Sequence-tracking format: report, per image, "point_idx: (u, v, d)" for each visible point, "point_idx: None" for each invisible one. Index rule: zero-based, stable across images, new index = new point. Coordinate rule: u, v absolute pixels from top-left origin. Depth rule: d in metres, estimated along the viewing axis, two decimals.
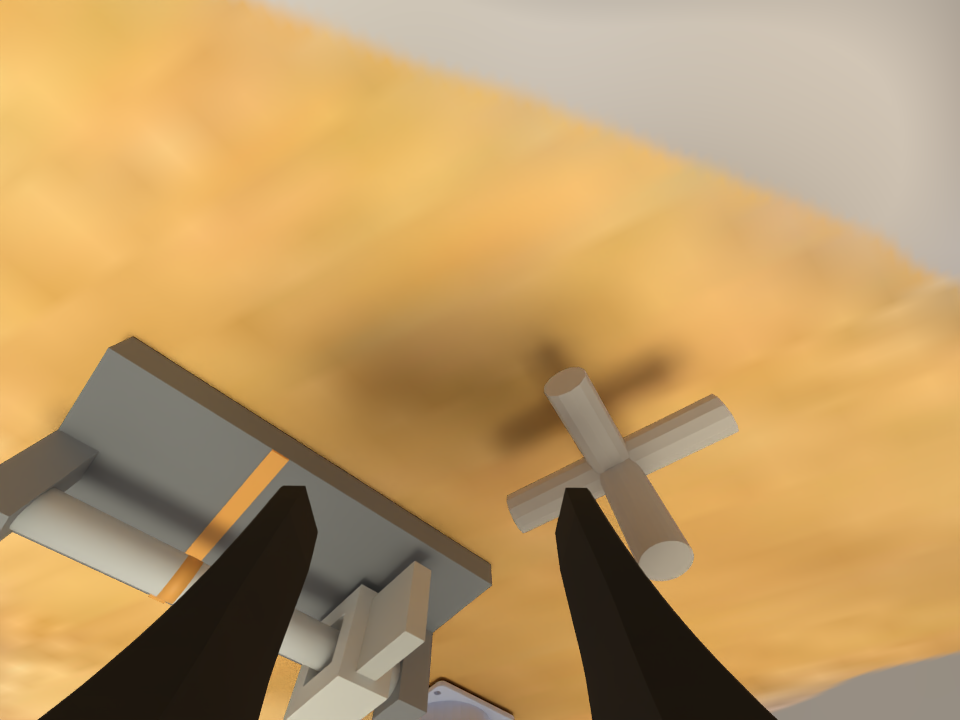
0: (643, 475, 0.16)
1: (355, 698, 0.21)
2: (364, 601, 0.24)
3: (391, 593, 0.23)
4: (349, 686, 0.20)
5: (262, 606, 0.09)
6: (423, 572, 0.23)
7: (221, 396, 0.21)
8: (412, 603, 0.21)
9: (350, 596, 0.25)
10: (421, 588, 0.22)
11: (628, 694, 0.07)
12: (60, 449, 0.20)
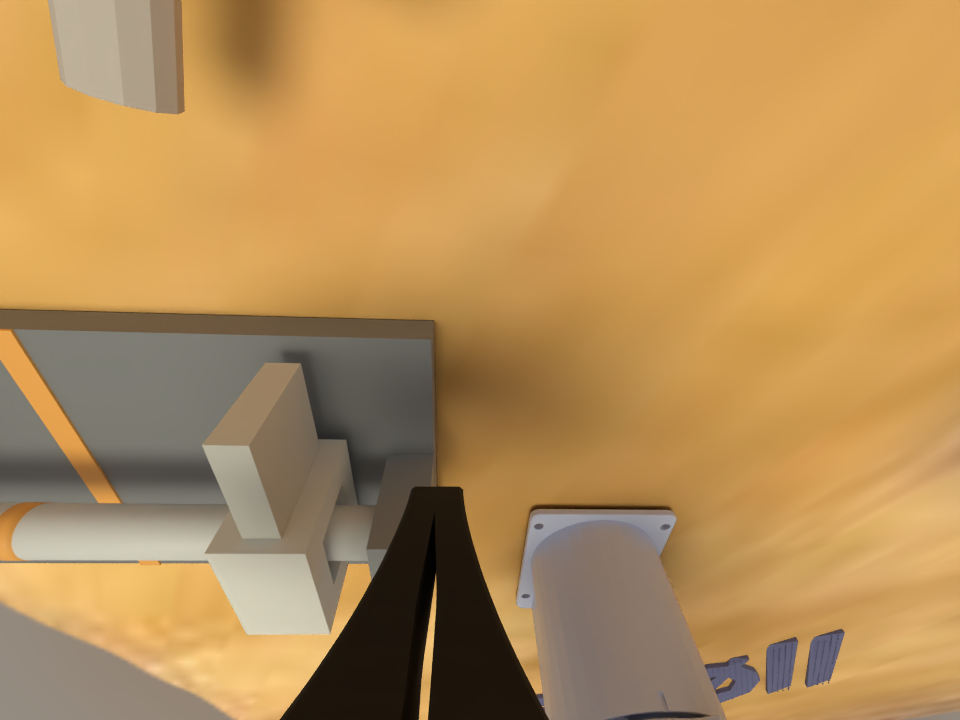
0: None
1: (269, 572, 0.13)
2: None
3: None
4: (238, 560, 0.13)
5: (423, 605, 0.09)
6: (281, 369, 0.14)
7: None
8: (237, 408, 0.12)
9: None
10: (269, 386, 0.13)
11: None
12: None
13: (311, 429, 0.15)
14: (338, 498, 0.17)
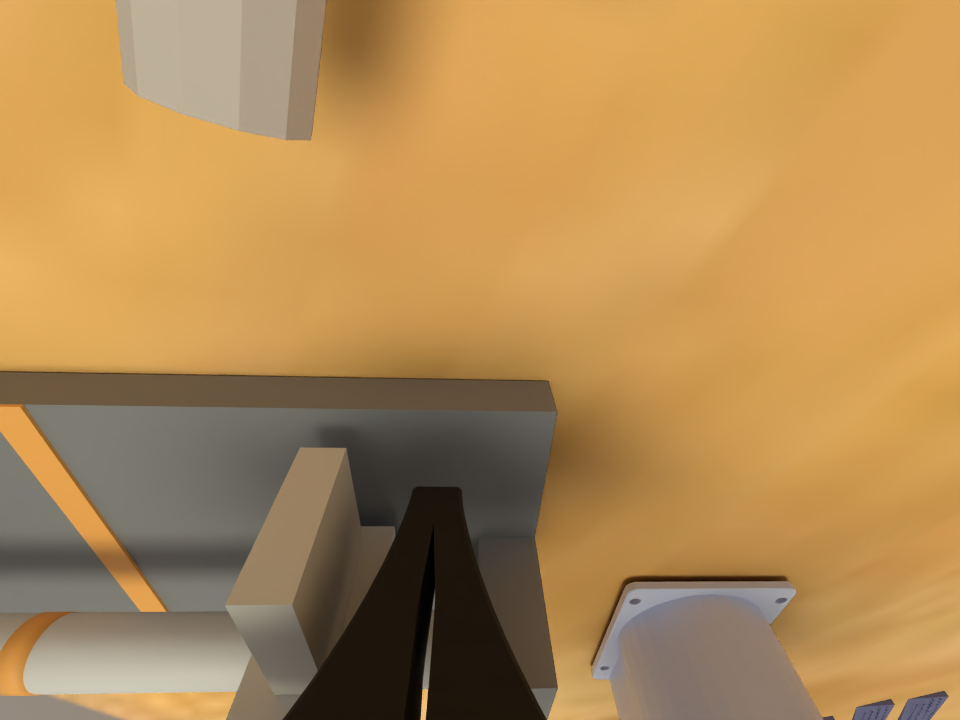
0: None
1: None
2: None
3: None
4: None
5: (425, 605, 0.09)
6: (322, 458, 0.11)
7: None
8: (269, 531, 0.09)
9: None
10: (309, 489, 0.10)
11: None
12: None
13: (355, 524, 0.12)
14: None
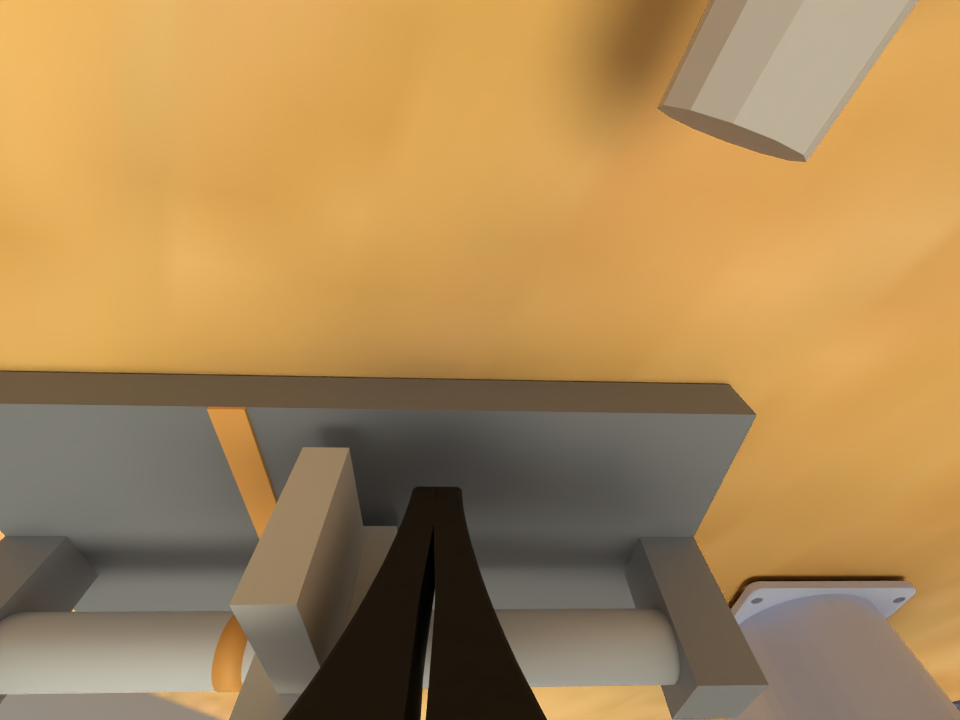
0: None
1: None
2: None
3: None
4: None
5: (424, 605, 0.09)
6: (325, 458, 0.11)
7: (106, 377, 0.12)
8: (273, 531, 0.09)
9: None
10: (312, 489, 0.10)
11: None
12: (8, 559, 0.13)
13: (358, 523, 0.12)
14: None
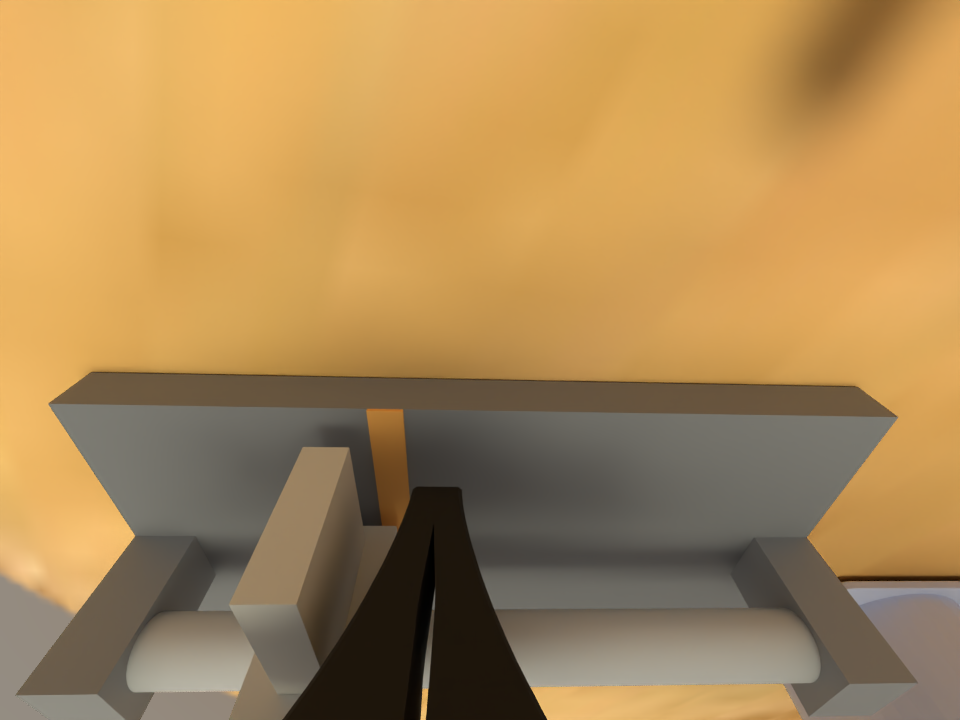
0: None
1: None
2: None
3: None
4: None
5: (424, 605, 0.09)
6: (325, 458, 0.11)
7: (254, 379, 0.12)
8: (273, 531, 0.09)
9: None
10: (312, 489, 0.10)
11: None
12: (145, 559, 0.14)
13: (358, 523, 0.12)
14: None
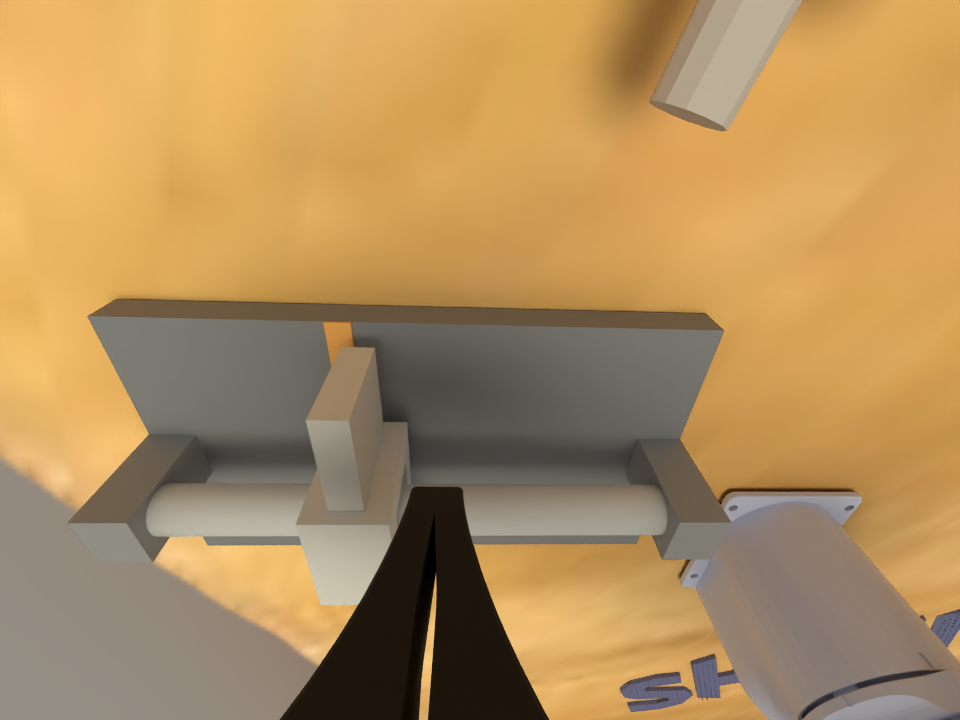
0: None
1: (353, 542, 0.14)
2: None
3: None
4: (326, 531, 0.14)
5: (423, 605, 0.09)
6: (358, 353, 0.15)
7: (240, 304, 0.16)
8: (328, 388, 0.13)
9: None
10: (351, 368, 0.14)
11: None
12: (157, 448, 0.18)
13: (379, 411, 0.16)
14: None
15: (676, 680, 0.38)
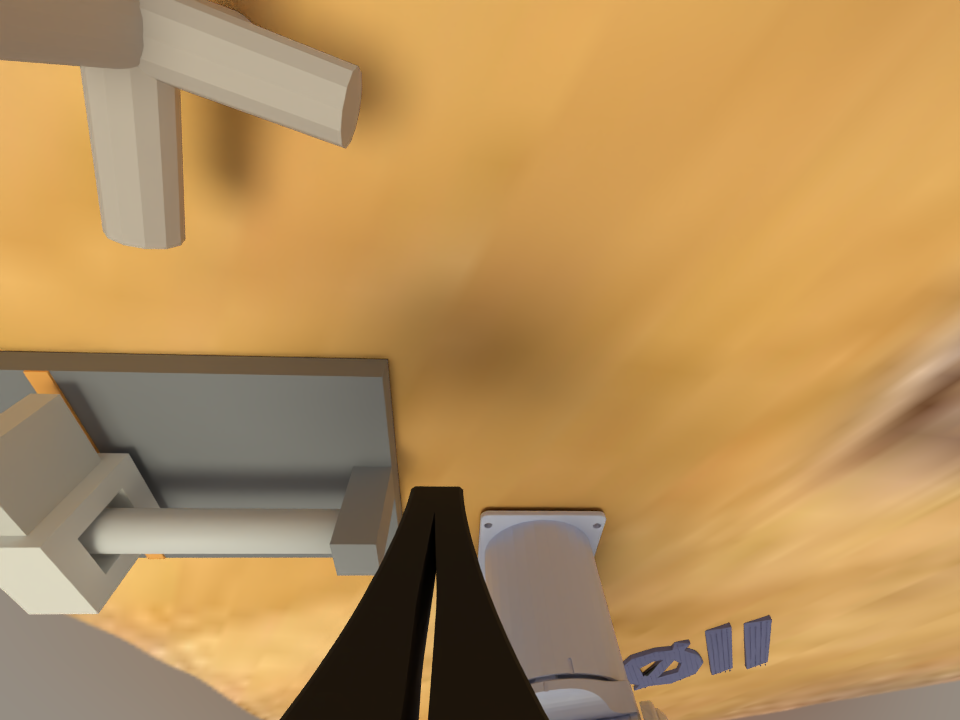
0: None
1: (18, 562, 0.16)
2: None
3: None
4: None
5: (423, 605, 0.09)
6: (39, 399, 0.17)
7: None
8: None
9: None
10: (16, 415, 0.16)
11: None
12: None
13: (83, 446, 0.19)
14: (124, 502, 0.20)
15: None
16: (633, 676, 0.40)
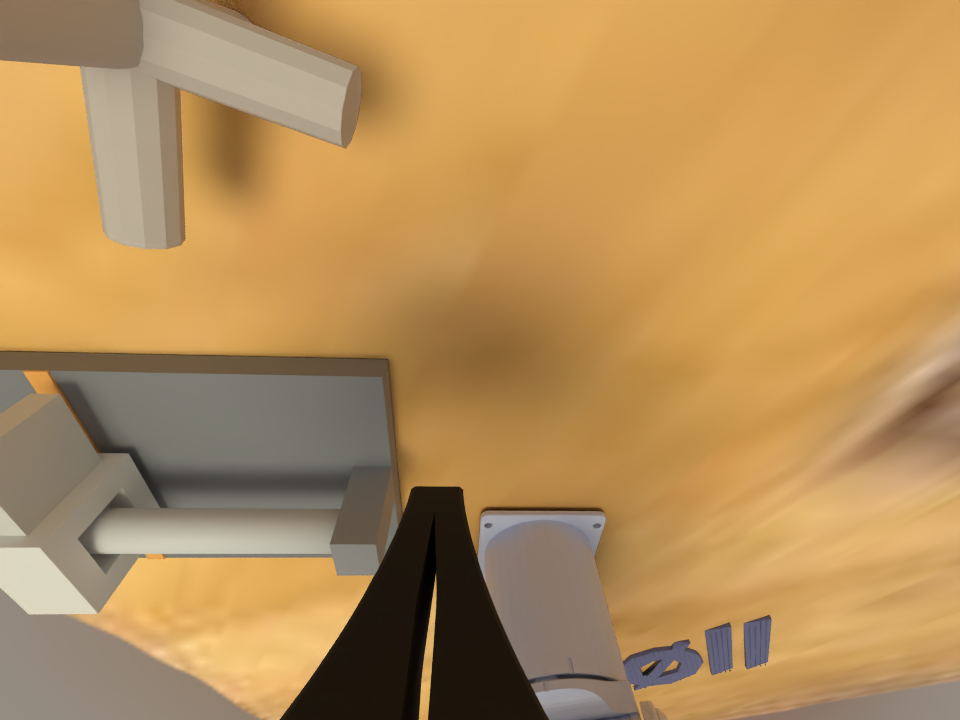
0: None
1: (18, 562, 0.16)
2: None
3: None
4: None
5: (423, 605, 0.09)
6: (39, 399, 0.17)
7: None
8: None
9: None
10: (16, 415, 0.16)
11: None
12: None
13: (83, 446, 0.19)
14: (124, 502, 0.20)
15: None
16: (633, 676, 0.40)
